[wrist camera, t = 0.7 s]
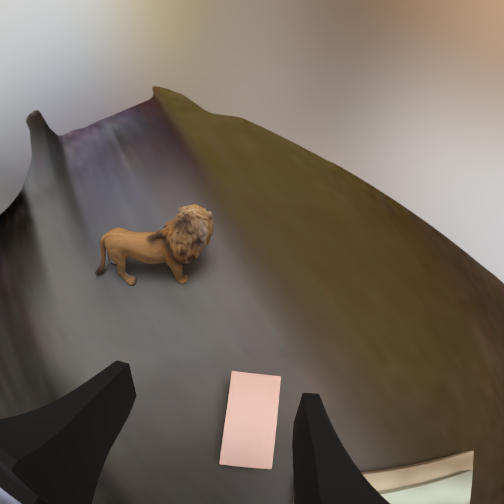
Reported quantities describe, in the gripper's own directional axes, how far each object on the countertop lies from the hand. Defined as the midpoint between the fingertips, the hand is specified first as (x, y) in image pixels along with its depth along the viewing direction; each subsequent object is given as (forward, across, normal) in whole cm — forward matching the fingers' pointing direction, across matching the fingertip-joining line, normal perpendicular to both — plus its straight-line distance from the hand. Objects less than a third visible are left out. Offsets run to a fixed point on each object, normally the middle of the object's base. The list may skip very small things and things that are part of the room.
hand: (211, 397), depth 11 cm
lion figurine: (+22, +11, +5) cm, 25 cm away
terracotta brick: (+10, -1, +14) cm, 17 cm away
